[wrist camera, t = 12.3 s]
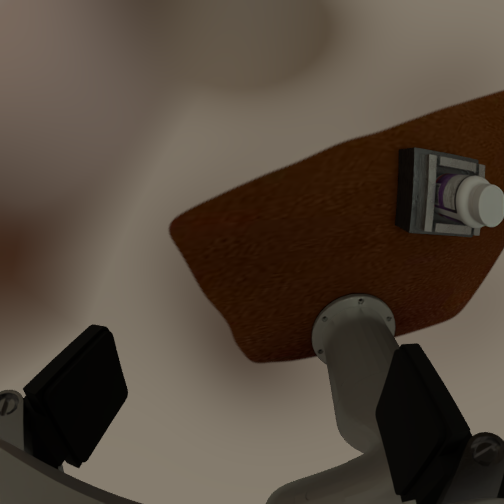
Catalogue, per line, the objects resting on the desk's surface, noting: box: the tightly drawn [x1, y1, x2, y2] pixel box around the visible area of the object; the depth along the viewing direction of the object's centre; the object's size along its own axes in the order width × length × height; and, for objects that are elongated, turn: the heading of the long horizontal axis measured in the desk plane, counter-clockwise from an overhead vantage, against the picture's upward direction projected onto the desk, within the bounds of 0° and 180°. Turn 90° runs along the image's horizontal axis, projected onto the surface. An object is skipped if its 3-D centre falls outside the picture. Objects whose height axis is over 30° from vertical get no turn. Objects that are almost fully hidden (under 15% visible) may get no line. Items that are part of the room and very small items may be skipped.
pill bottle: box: [434, 173, 504, 228], centre depth 25 cm, size 5×5×10 cm
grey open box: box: [395, 148, 485, 237], centre depth 31 cm, size 10×10×8 cm
